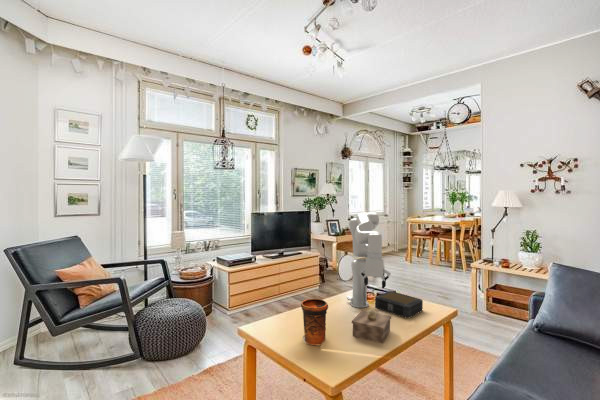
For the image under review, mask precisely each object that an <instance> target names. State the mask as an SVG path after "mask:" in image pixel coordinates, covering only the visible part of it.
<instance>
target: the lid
mask: <svg viewBox="0 0 600 400" xmlns="http://www.w3.org/2000/svg"><path fill="white" fill-rule="evenodd" d="M391 319H392V315H387V314H383V313H377V311H376V310H374V309H367V310H360V311H359V312H358V313H357V314H356V316H355V317H353V319H352V320H351V324H352V325H353V324H357V325H362V326H366V327H371V328H376V329H380V330H384V329H385V327H386V326H387V324H388V322H389V321H390V322H391Z"/></svg>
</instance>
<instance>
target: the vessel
mask: <svg viewBox="0 0 600 400" xmlns="http://www.w3.org/2000/svg"><path fill="white" fill-rule="evenodd" d="M300 307H301V309H302V315H303V316H302V317H303V318H302V319H303V332H304V335H303V337H302V340H303V342H305V343H304V344H306V345H312V346H318V347H319V346H320V347H321V345H322V344H323V342H324V341H325V340H326V330H327V327H326V326H327V323H326V322H327V321H326V320H327V319H326V318H327V317H326V316H327V313H328V312H327V311H328V309H329V305H328V302H326V301H325V300H323V299H320V298H309V299H305V300H303V301H301V303H300Z"/></svg>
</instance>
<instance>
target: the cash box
mask: <svg viewBox="0 0 600 400" xmlns="http://www.w3.org/2000/svg"><path fill="white" fill-rule="evenodd" d="M423 302H424V301H423V299H421V298H418V297H414V296H411V295H408V294H404V293H400V292H396V291H393V290H389V291H386V292H384V293H381V294H379V295H376V296H374V307H375V308H376V309H379V310H381V311H384V312H387V313H391V314H394V315H397V316H399V315H400V317H402V316H403V317H402V318H405V317H406V319H410V318H412V317H414V316H416V315H417V314H416V313H418V312H419V313H421V312H423V310H422V309H423ZM420 311H421V312H420ZM419 313H418V314H419ZM415 314H416V315H415ZM413 315H414V316H413ZM411 316H412V317H411ZM409 317H410V318H409Z"/></svg>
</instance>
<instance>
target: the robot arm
mask: <svg viewBox="0 0 600 400" xmlns="http://www.w3.org/2000/svg"><path fill="white" fill-rule="evenodd" d="M379 224H380V216H379V214H378V213H376V212H360V213H358V214H357V215H356V217H355V218H354V217H353V218H350V220H349V222H348V227H349V230H350V231H349V232H350V233H351V237H352V253H353V256H354V257H357V258H356V259H353V260H352V261H351V266H350V267H351V273H352V296H349V295H348V296H346V299H347V301H350V306H352V307H354V308H358V309H362V308H363V309H364V308H367V307H369V305H370V304H369V302H368V301H367V299H368V298H367V296H368V295H367V290H368V289H367V287H368V285H369V277H374V278H380V279H381V280H382V281H381V288H382V289H385V288H386V286H387V282H386V281H387V280H388V279H389V278H390V276H391V274H392V273H391V272H389V271H388V270H387V269H385V263H384V258H383V235H382V234H381V232H380V231H376V228H377V226H379ZM374 230H375V231H374ZM385 274H386V275H385Z"/></svg>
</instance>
